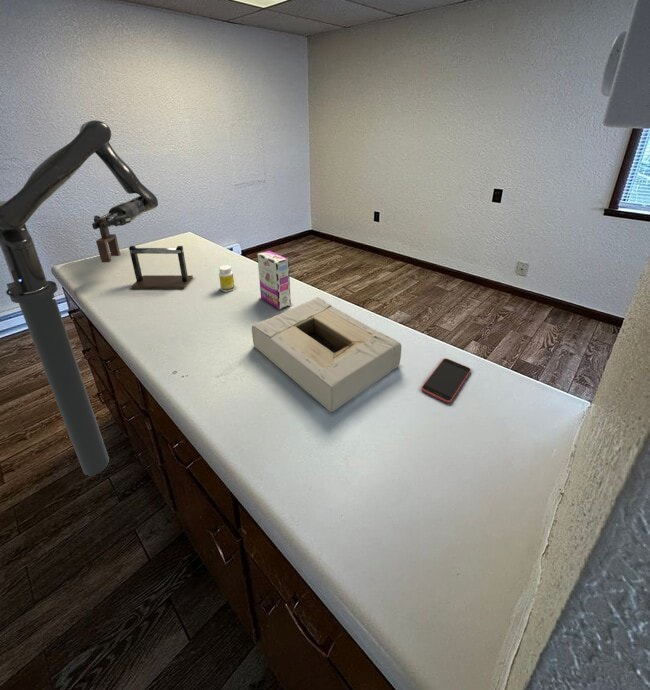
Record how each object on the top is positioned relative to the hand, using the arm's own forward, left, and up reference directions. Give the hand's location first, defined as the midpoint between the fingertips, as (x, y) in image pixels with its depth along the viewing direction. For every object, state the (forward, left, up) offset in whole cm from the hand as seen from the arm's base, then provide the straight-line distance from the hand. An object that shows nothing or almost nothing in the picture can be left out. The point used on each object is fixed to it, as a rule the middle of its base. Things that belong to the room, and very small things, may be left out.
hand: (97, 226), depth 125 cm
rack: (+12, -14, -22) cm, 29 cm away
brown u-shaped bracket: (+2, +2, -13) cm, 14 cm away
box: (+19, -87, -22) cm, 92 cm away
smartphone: (+31, -115, -22) cm, 121 cm away
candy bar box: (+30, -56, -22) cm, 68 cm away
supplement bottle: (+25, -36, -22) cm, 49 cm away
